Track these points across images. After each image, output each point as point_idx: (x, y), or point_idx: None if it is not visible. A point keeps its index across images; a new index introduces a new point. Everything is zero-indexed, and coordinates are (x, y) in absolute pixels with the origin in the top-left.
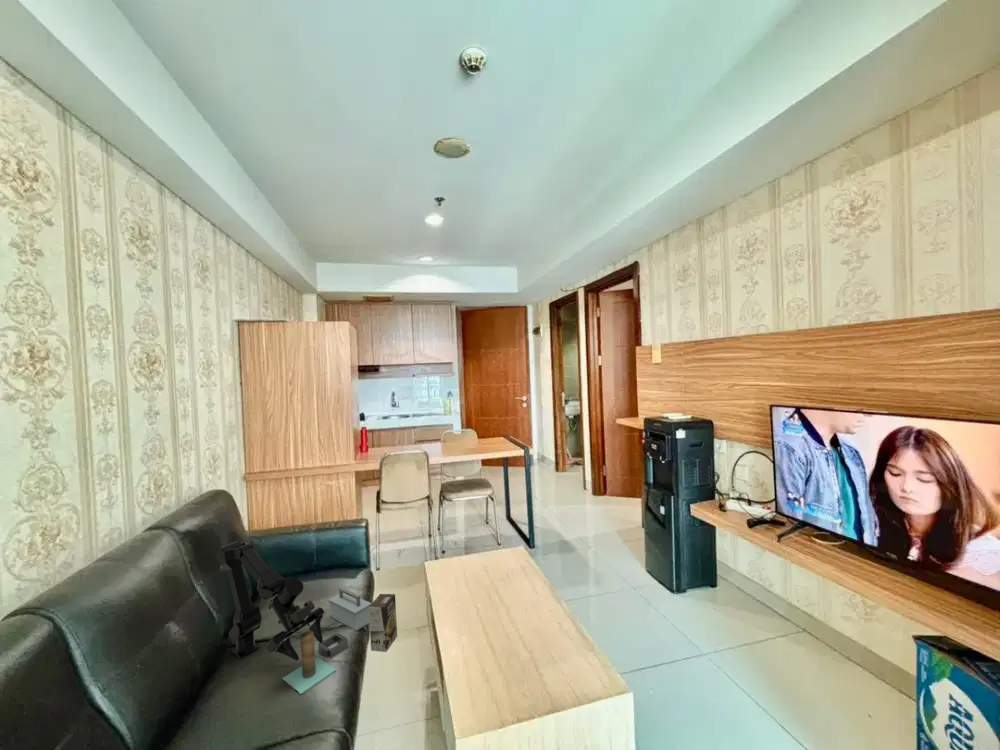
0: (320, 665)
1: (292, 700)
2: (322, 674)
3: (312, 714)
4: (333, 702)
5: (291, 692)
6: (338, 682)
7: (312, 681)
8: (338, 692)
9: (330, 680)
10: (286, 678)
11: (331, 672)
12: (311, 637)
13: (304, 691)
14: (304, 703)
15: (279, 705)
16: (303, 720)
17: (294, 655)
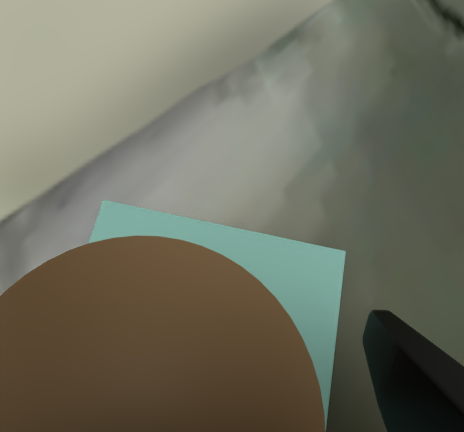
0: None
1: (391, 269)
2: None
3: (394, 91)
4: (296, 53)
5: (355, 336)
6: (179, 122)
7: (242, 265)
8: (237, 74)
9: (182, 177)
10: None
11: (132, 209)
12: (144, 247)
13: (320, 247)
14: (370, 182)
15: (455, 313)
16: (437, 103)
17: (447, 354)
